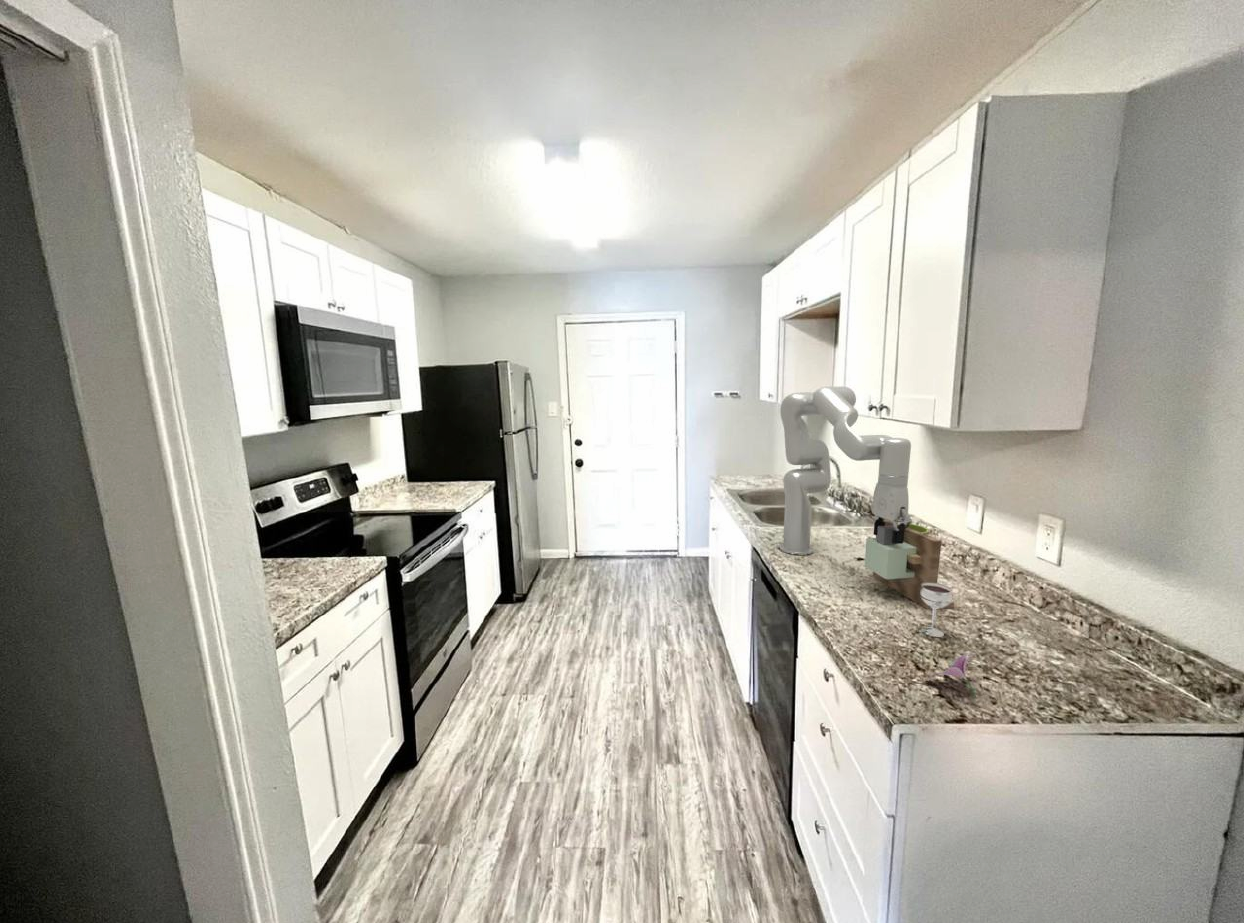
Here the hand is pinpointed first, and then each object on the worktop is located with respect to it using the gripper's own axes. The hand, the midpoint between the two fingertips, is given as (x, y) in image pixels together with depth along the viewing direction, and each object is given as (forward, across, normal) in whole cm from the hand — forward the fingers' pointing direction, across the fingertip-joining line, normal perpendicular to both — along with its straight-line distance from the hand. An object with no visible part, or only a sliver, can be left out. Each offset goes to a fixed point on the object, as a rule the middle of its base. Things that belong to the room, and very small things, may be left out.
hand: (887, 538), depth 138 cm
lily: (+18, +43, -15) cm, 49 cm away
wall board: (+17, -1, +8) cm, 19 cm away
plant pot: (+18, -27, +29) cm, 43 cm away
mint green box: (+10, 0, +1) cm, 11 cm away
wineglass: (+18, +22, -2) cm, 28 cm away
